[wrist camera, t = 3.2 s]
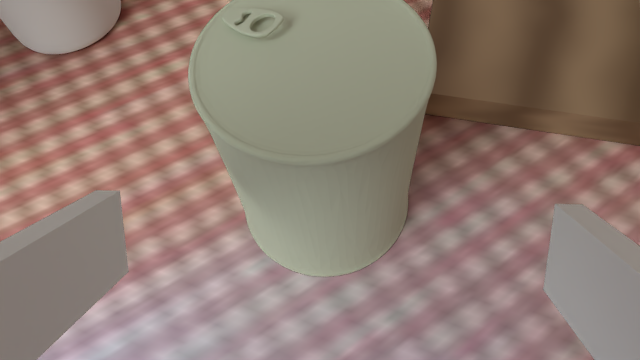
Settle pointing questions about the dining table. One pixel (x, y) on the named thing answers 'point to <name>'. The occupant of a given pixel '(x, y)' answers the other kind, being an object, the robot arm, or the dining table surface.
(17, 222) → the dining table surface
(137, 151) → the dining table surface
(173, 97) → the dining table surface
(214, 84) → the can
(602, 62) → the shelf
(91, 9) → the pill bottle
